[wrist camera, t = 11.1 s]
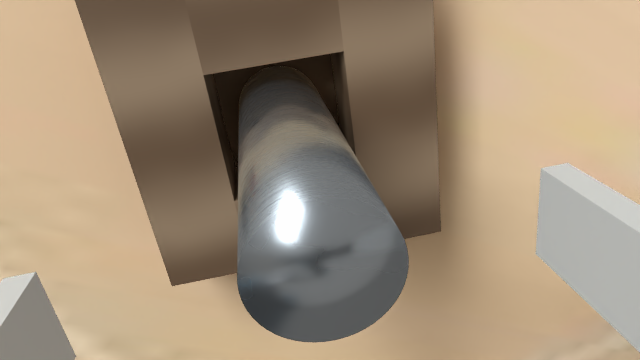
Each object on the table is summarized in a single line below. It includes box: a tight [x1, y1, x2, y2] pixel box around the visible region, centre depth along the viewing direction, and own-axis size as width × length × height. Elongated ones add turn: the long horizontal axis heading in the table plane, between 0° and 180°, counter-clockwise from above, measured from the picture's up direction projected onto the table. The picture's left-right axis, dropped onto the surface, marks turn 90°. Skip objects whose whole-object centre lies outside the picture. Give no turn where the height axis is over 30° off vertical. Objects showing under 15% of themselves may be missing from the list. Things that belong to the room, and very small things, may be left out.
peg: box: [237, 66, 409, 342], centre depth 18 cm, size 4×4×15 cm
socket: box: [75, 0, 441, 286], centre depth 23 cm, size 14×14×4 cm
